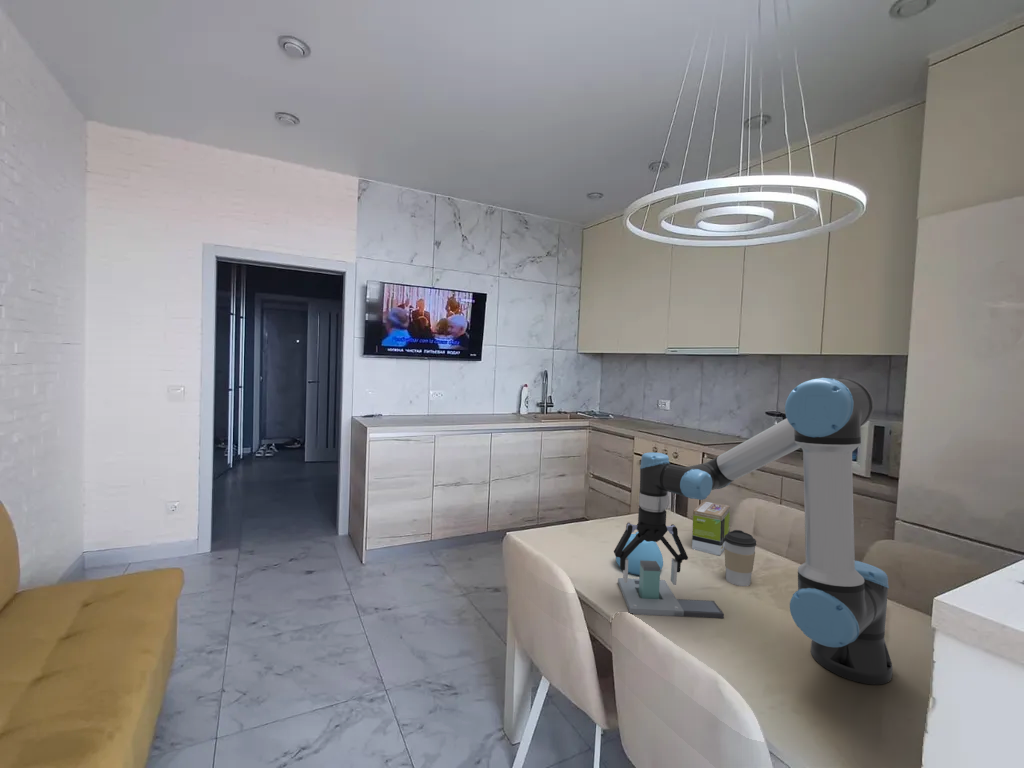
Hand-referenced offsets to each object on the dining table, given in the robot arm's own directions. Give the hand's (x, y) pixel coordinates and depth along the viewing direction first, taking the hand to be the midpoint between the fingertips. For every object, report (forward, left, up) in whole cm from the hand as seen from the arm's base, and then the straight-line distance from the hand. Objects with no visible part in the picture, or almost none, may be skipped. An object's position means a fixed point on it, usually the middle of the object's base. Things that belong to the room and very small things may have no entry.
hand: (649, 581), depth 136 cm
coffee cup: (+14, -31, -5) cm, 34 cm away
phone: (-6, -11, -5) cm, 13 cm away
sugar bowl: (+21, -2, -5) cm, 22 cm away
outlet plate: (0, 0, -5) cm, 5 cm away
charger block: (0, 0, -5) cm, 5 cm away
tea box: (+42, -33, -5) cm, 54 cm away
